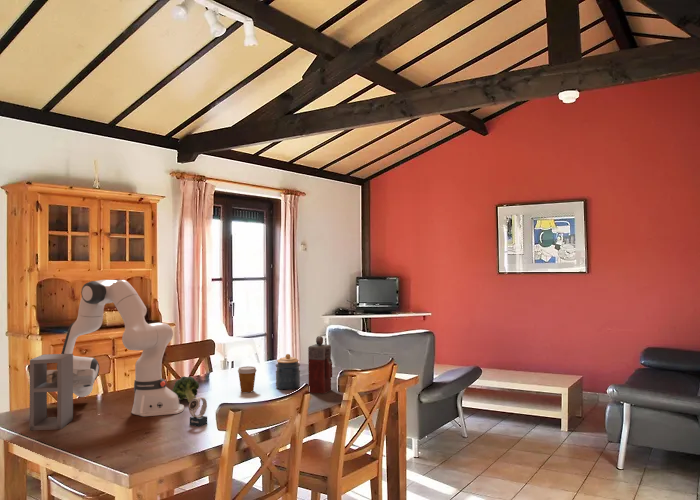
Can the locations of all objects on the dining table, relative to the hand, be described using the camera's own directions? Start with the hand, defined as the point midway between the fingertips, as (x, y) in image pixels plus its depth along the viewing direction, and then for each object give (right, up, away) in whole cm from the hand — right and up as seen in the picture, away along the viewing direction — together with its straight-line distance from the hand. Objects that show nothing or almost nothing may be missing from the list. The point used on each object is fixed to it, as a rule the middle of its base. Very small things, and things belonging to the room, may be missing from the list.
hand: (65, 369), depth 255 cm
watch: (+63, -19, -17) cm, 68 cm away
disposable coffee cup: (+72, -20, +43) cm, 86 cm away
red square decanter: (+111, -20, +42) cm, 120 cm away
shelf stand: (+2, -20, -14) cm, 24 cm away
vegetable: (+47, -20, +24) cm, 56 cm away
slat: (+1, -2, -8) cm, 8 cm away
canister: (+92, -20, +51) cm, 108 cm away
